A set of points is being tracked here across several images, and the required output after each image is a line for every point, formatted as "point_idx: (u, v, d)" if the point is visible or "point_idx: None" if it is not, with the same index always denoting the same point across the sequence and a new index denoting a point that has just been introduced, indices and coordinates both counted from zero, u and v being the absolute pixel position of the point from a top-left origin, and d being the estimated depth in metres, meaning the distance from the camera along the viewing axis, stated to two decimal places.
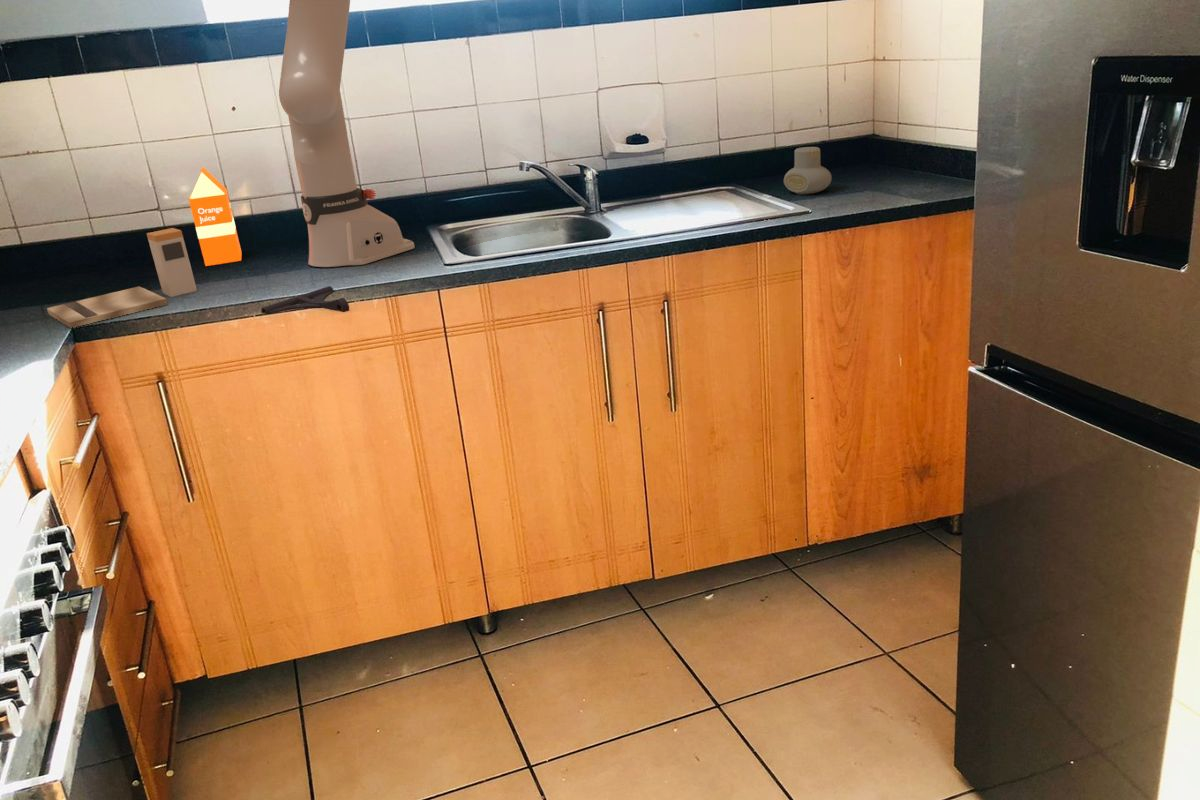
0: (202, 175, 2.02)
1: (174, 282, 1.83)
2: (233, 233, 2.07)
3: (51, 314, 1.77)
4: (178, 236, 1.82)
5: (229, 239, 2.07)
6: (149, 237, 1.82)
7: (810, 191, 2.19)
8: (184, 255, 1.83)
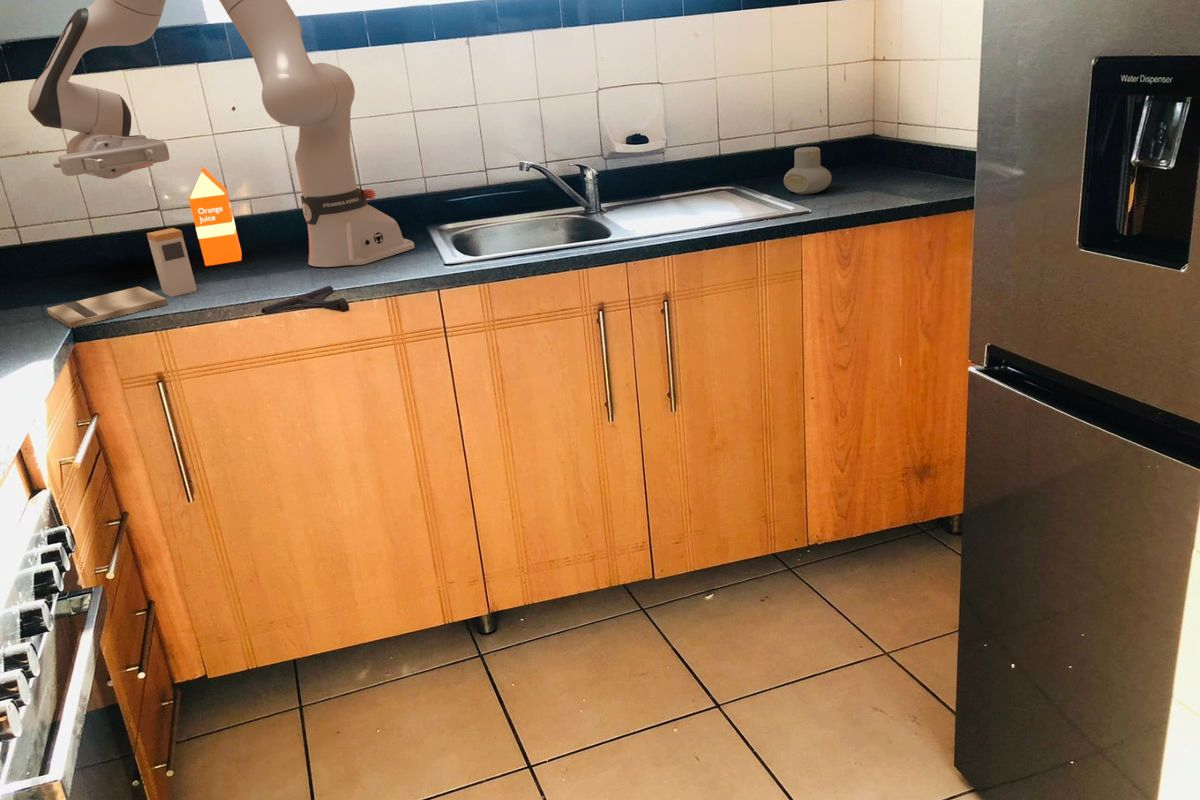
0: (202, 175, 2.02)
1: (174, 282, 1.83)
2: (233, 233, 2.07)
3: (51, 314, 1.77)
4: (178, 236, 1.82)
5: (229, 239, 2.07)
6: (149, 237, 1.82)
7: (810, 191, 2.19)
8: (184, 255, 1.83)
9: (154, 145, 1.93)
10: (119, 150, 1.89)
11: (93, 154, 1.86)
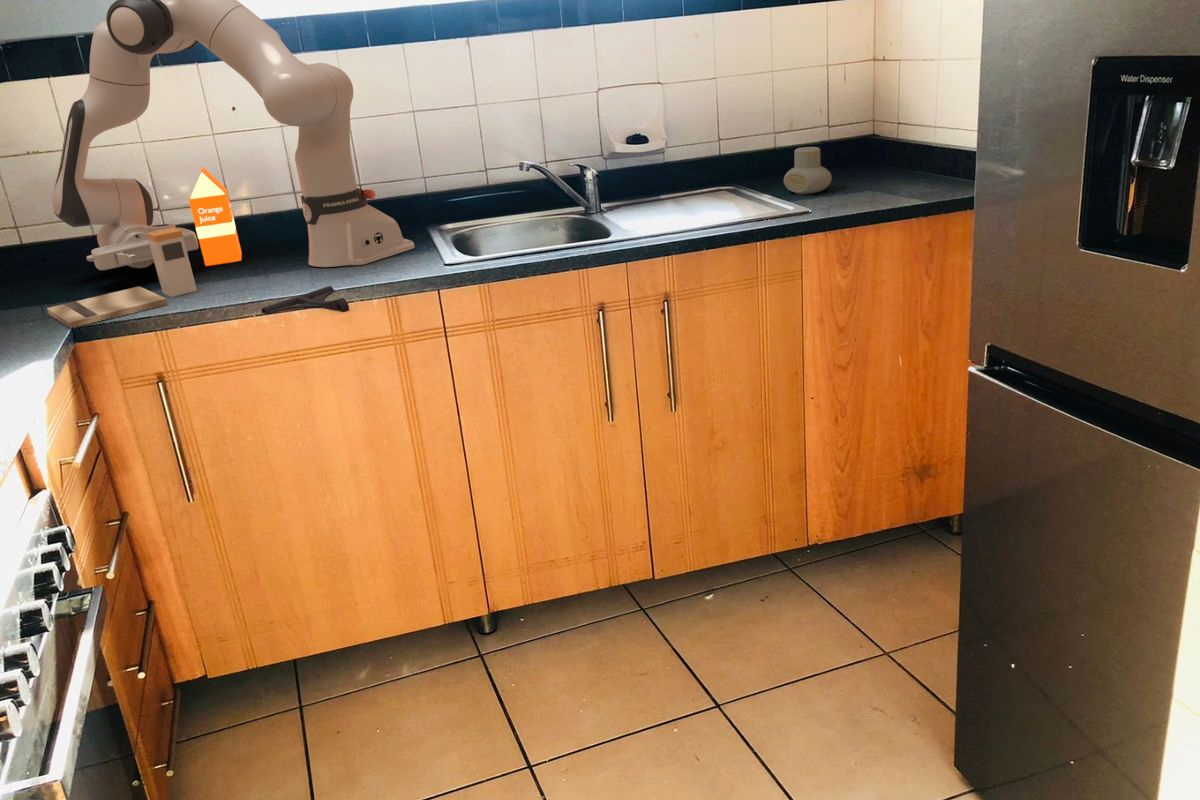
0: (202, 175, 2.02)
1: (174, 282, 1.83)
2: (233, 233, 2.07)
3: (51, 314, 1.77)
4: (178, 236, 1.82)
5: (229, 239, 2.07)
6: (149, 237, 1.82)
7: (810, 191, 2.19)
8: (184, 255, 1.83)
9: (184, 236, 1.98)
10: None
11: (125, 248, 1.91)
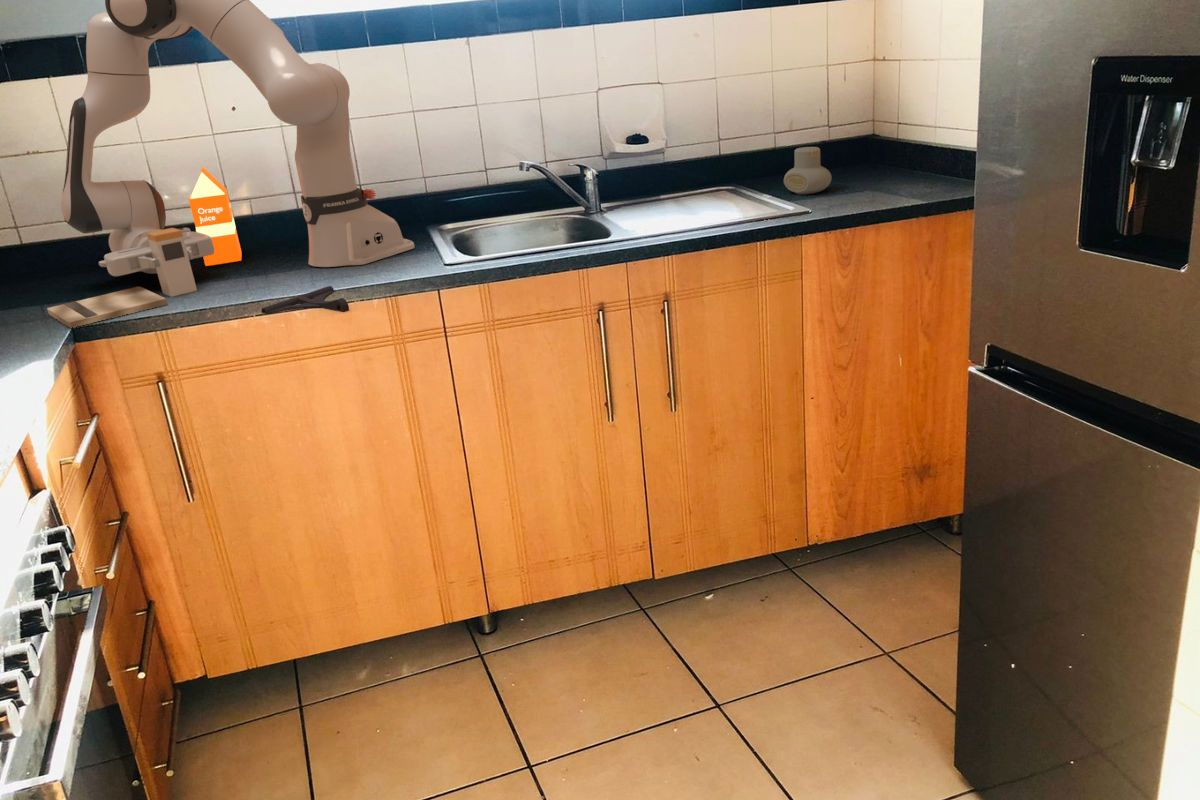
0: (202, 175, 2.02)
1: (174, 282, 1.83)
2: (233, 233, 2.07)
3: (51, 314, 1.77)
4: (178, 236, 1.82)
5: (229, 239, 2.07)
6: (149, 237, 1.82)
7: (810, 191, 2.19)
8: (184, 255, 1.83)
9: (199, 240, 1.91)
10: None
11: (139, 253, 1.84)
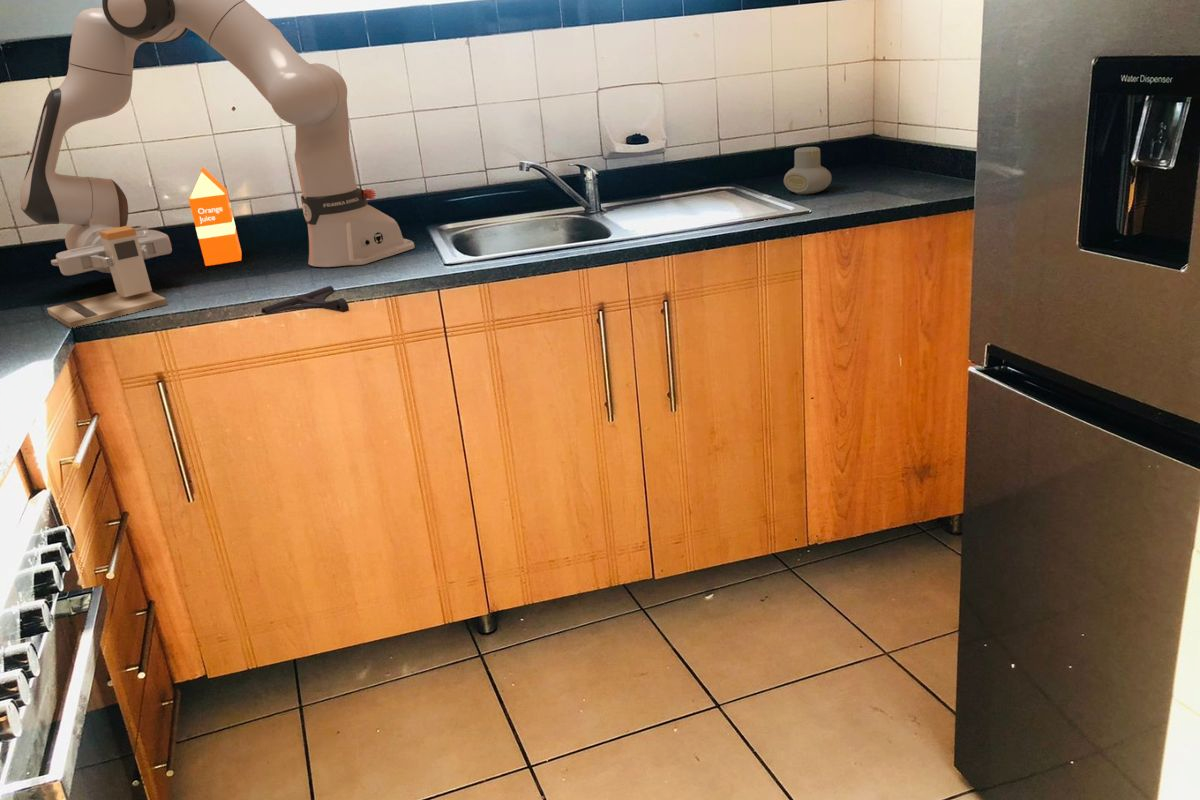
0: (202, 175, 2.02)
1: (127, 282, 1.78)
2: (233, 233, 2.07)
3: (51, 314, 1.77)
4: (131, 234, 1.76)
5: (229, 239, 2.07)
6: (102, 235, 1.76)
7: (810, 191, 2.19)
8: (138, 254, 1.78)
9: (156, 239, 1.85)
10: None
11: (92, 252, 1.78)
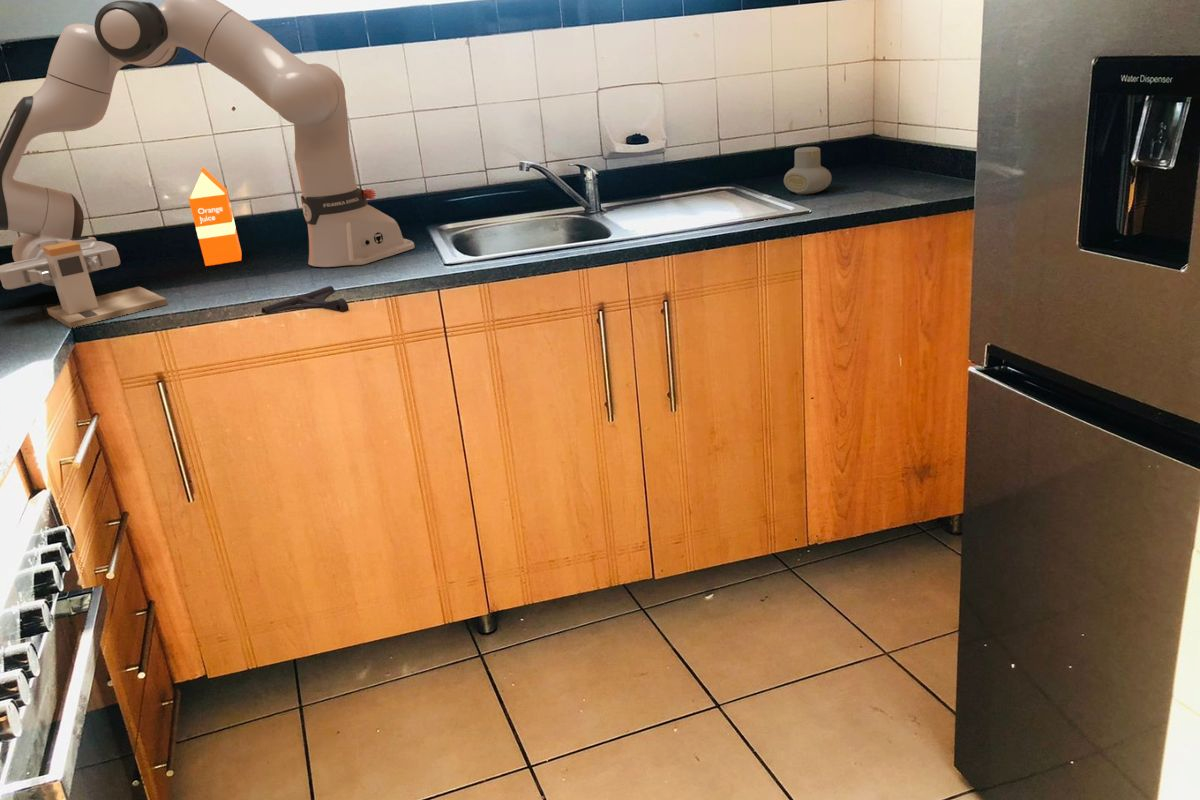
0: (202, 175, 2.02)
1: (72, 299, 1.72)
2: (233, 233, 2.07)
3: (51, 314, 1.77)
4: (76, 250, 1.71)
5: (229, 239, 2.07)
6: (45, 251, 1.71)
7: (810, 191, 2.19)
8: (83, 270, 1.72)
9: (103, 251, 1.79)
10: None
11: (35, 265, 1.73)
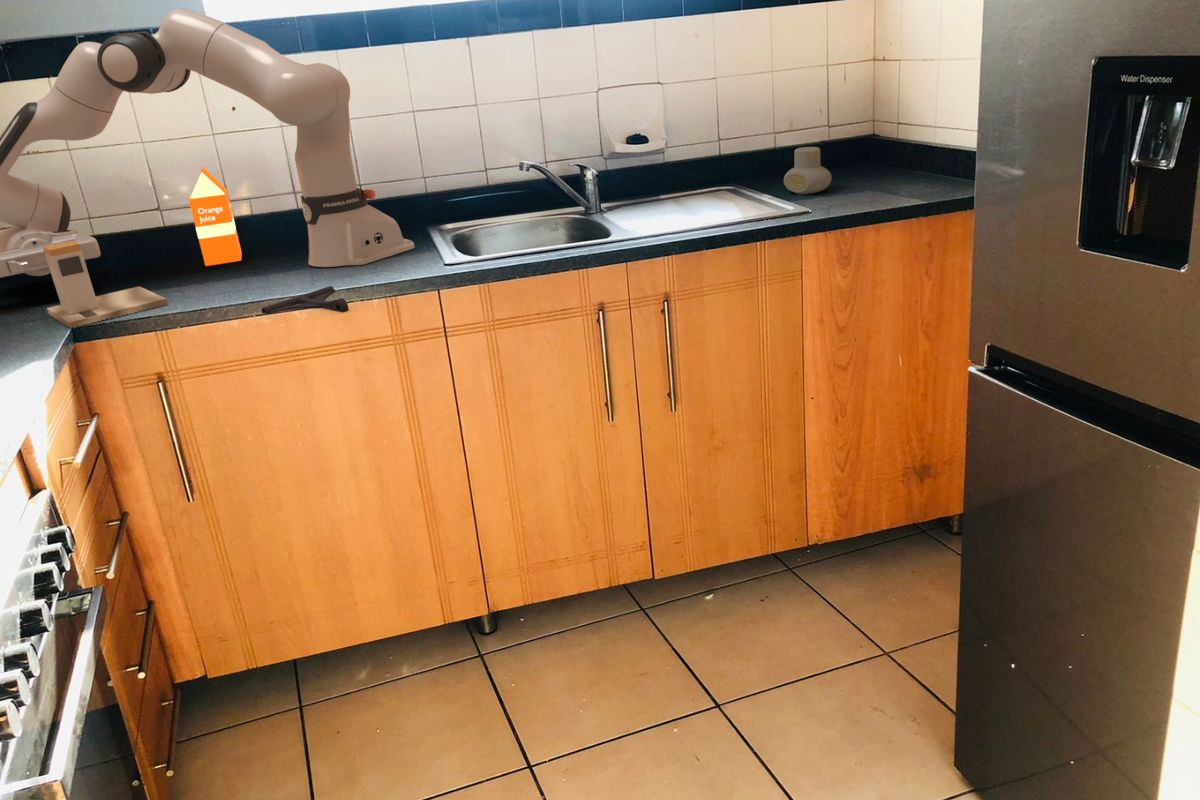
0: (202, 175, 2.02)
1: (72, 299, 1.72)
2: (233, 233, 2.07)
3: (51, 314, 1.77)
4: (76, 250, 1.71)
5: (229, 239, 2.07)
6: (45, 251, 1.71)
7: (810, 191, 2.19)
8: (83, 270, 1.72)
9: (83, 243, 1.89)
10: None
11: (18, 256, 1.82)
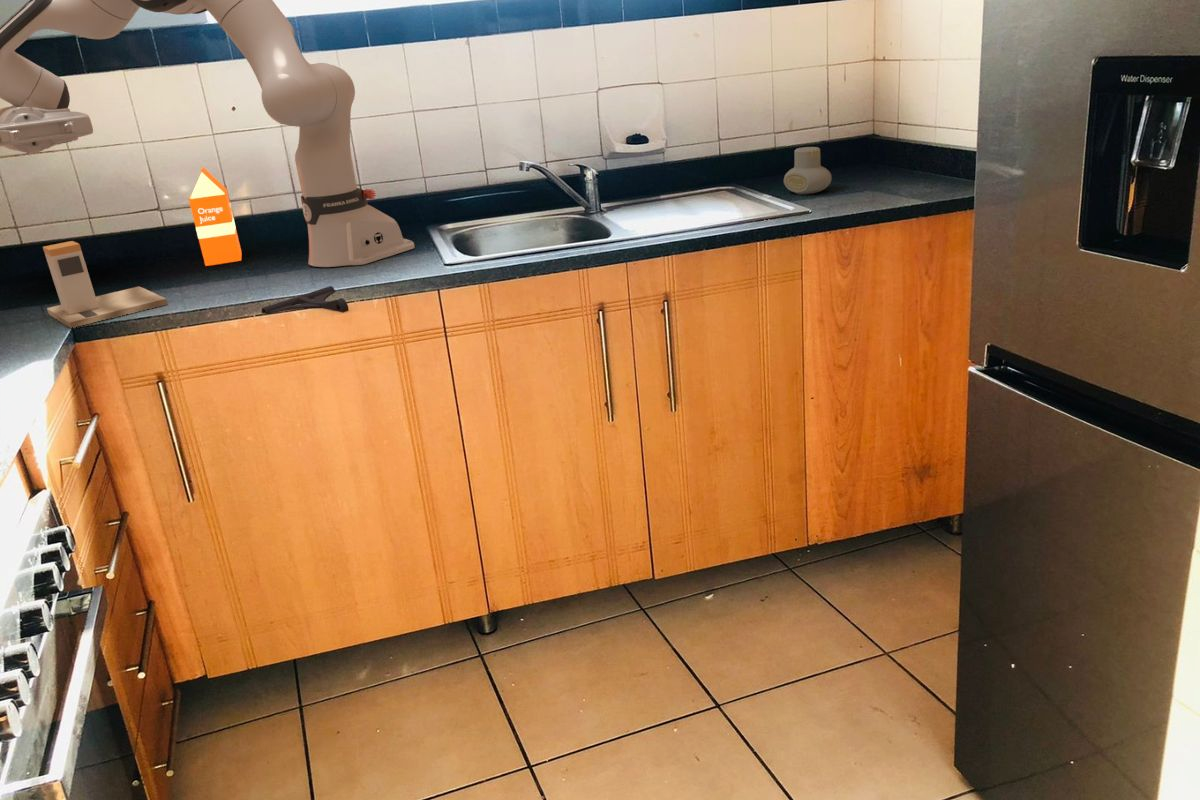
0: (202, 175, 2.02)
1: (72, 299, 1.72)
2: (233, 233, 2.07)
3: (51, 314, 1.77)
4: (76, 250, 1.71)
5: (229, 239, 2.07)
6: (45, 251, 1.71)
7: (810, 191, 2.19)
8: (83, 270, 1.72)
9: (76, 117, 1.86)
10: (38, 122, 1.82)
11: (9, 126, 1.79)
